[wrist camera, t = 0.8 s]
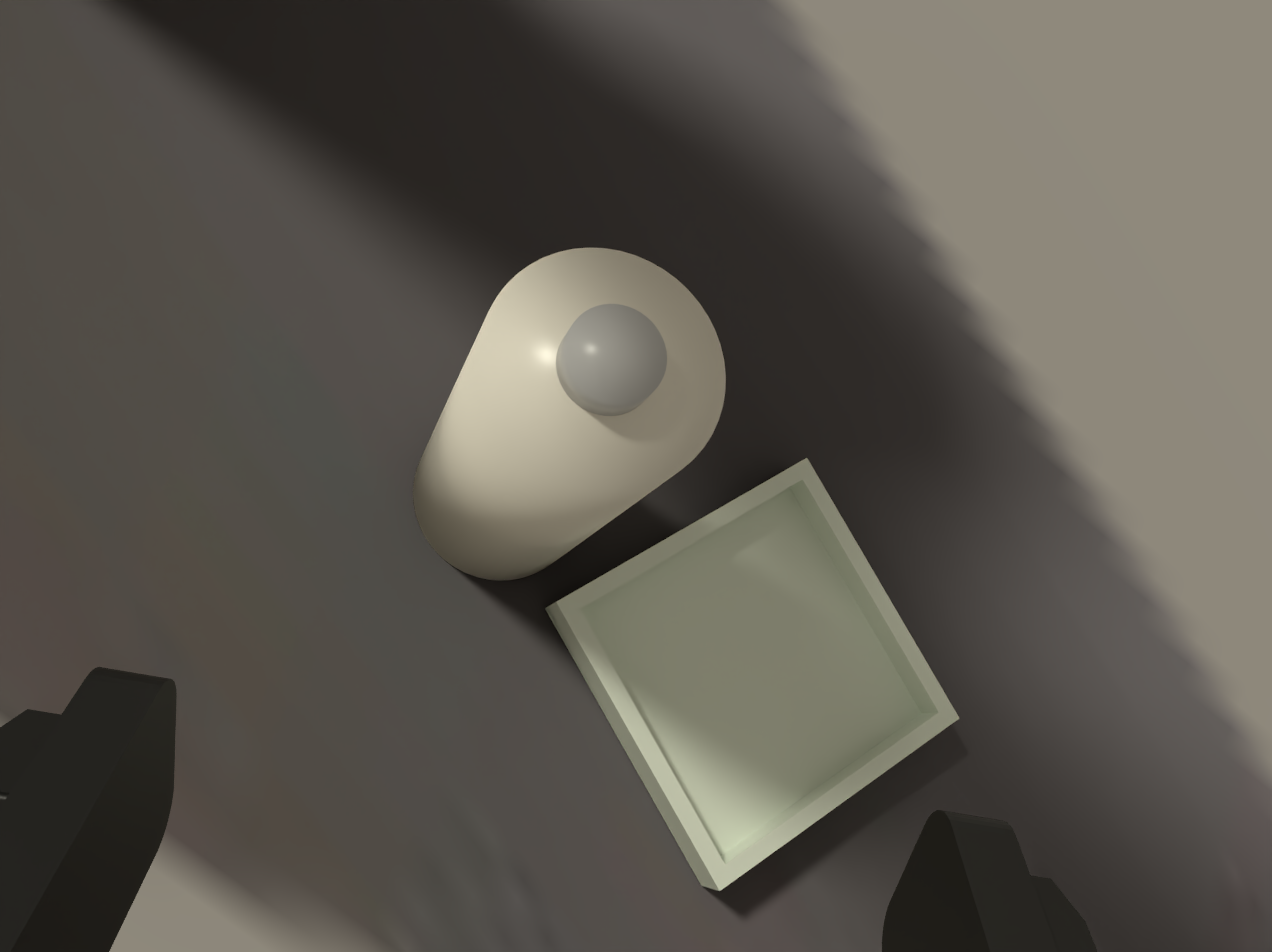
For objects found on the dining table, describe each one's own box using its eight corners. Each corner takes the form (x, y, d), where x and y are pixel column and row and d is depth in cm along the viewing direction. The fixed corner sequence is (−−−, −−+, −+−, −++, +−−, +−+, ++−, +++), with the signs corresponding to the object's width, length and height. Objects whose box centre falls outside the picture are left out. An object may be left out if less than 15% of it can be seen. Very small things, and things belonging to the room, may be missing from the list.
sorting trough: (544, 608, 34) (556, 602, 32) (787, 469, 37) (806, 457, 36) (701, 885, 33) (719, 891, 32) (933, 719, 36) (959, 718, 35)
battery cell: (381, 459, 33) (436, 292, 21) (531, 385, 35) (658, 193, 23) (467, 612, 33) (570, 529, 21) (613, 530, 35) (785, 410, 23)
